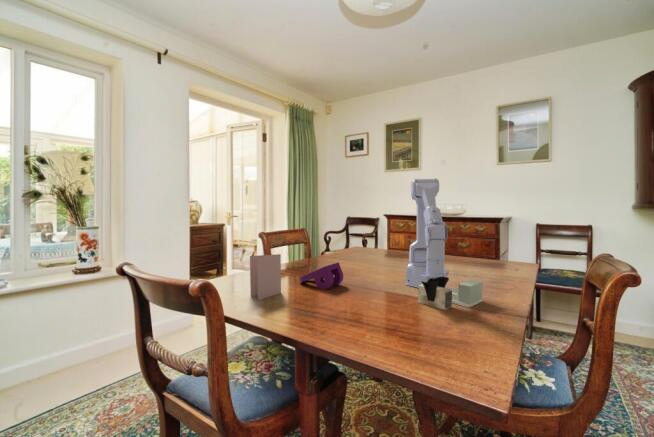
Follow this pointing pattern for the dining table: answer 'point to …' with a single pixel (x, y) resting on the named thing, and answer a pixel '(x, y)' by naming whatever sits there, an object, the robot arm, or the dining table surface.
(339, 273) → the mounting bracket
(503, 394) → the dining table surface
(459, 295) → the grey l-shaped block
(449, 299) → the beige and brown block
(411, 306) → the dining table surface
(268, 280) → the greeting card
